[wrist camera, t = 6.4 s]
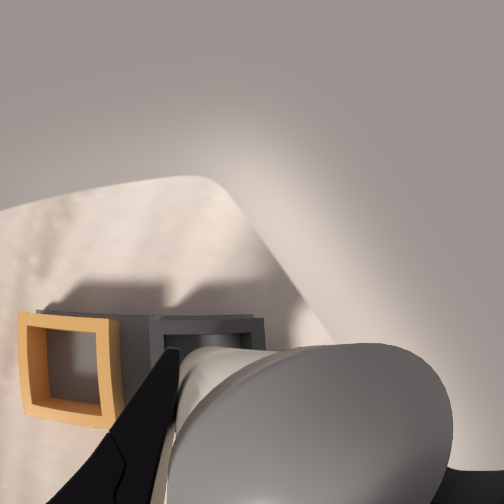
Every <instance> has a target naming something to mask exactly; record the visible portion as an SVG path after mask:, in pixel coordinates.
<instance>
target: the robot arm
mask: <svg viewBox="0 0 504 504" xmlns="http://www.w3.org/2000/svg"><path fill="white" fill-rule="evenodd" d="M180 359H181V349H179V348H173V347H167V348H166V349H165V350H164V352H163V353H162V354H161V356H160V357H159V359H158V360H157V362H156V363H155V364H154V366H153V367H152V369H151V370H150V372H149V373H148V374H147V376H146V377H145V379H144V380H143V382H142V383H141V384H140V386H139V387H138V389H137V390H136V392H135V393H134V395H133V396H132V397H131V399H130V400H129V402H128V403H127V405H126V406H125V408H124V409H123V411H122V412H121V413H120V415H119V416H118V418H117V419H116V421H115V422H114V424H113V425H112V427H111V428H110V430H109V433H107V434H106V435H105V437H104V438H103V440H102V441H101V443H100V444H99V445H98V447H97V448H96V449H95V451H94V452H93V453H92V455H91V456H90V457H89V458H88V460H87V461H86V462H85V463H84V464H83V465H82V467H81V468H80V469H79V470H78V471H77V472H76V473H75V474H74V475H73V476H72V478H71V479H70V480H69V481H68V482H67V483H66V484H65V485H64V486H63V487H62V488H61V489H60V490H59V491H58V492H57V493H56V494H55V495H54V496H53V497H52V498H51V499H50V500H49V501H48V502H47V503H46V504H164V498H165V490H166V483H167V476H168V465H169V460H170V455H171V450H172V444H173V438H174V432H175V427H176V411H177V402H178V390H179V375H180ZM430 504H504V470H502V471H501V470H500V471H459V470H455V469H451V468H449V467H447V468H446V471H445V473H444V476H443V479H442V481H441V483H440V486H439V488H438V490H437V492H436V494H435V496H434V497H433V499H432V501H431V502H430Z"/></svg>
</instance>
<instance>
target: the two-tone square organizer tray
mask: <svg viewBox="0 0 504 504" xmlns="http://www.w3.org/2000/svg"><path fill="white" fill-rule="evenodd" d="M17 340H18V364H19V376H20V386H21V394H22V401H23V408H24V414H27V415H31V416H35V417H39V418H44V419H48V420H53V421H58V422H63V423H68V424H74V425H80V426H87V427H94V428H103V429H110V428H111V427H112V425H113V424H114V422H115V421H116V419H117V418H118V416H119V415H120V413H121V412H122V411H123V409H124V408H125V406H126V405H127V403H128V402H129V400H130V399H131V397H132V396H133V395H134V393H135V392H136V390H137V389H138V387H139V386H140V384H141V383H142V382H143V380H144V379H145V377H146V376H147V374H148V373H149V372H150V370H151V369H152V367H153V366H154V364H155V363H156V362H157V360H158V359H159V357H160V356H161V354H162V353H163V352H164V350H165V349H166V348H167V347H173V348H179V349H181V359H180V365H181V363H182V361H183V360H184V358H185V357H186V356H187V355H188V354H189V353H191V352H192V351H194V350H195V349H198V348H201V347H205V346H217V347H226V348H237V349H248V350H262V351H266V347H265V333H264V319H263V318H253V314H250V315H222V316H134V315H106V314H87V313H72V312H59V311H47V310H36V313H28V312H19V311H18V322H17ZM175 432H176V427H175Z"/></svg>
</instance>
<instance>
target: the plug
mask: <svg viewBox="0 0 504 504" xmlns="http://www.w3.org/2000/svg"><path fill="white" fill-rule="evenodd" d="M452 439H453V418H452V410H451V405H450V400H449V397H448V395H447V392H446V389H445V387H444V385H443V384H442V382H441V380H440V378H439V376H438V375H437V374H436V372H435V371H434V370H433V369H432V367H431V366H430V365H428V364H427V363H426V362H425V361H424V360H423V359H422V358H420V357H418V356H417V355H415V354H413V353H412V352H410V351H407V350H405V349H402V348H399V347H396V346H392V345H386V344H381V343H357V344H341V345H319V346H307V347H298V348H294V349H289V350H284V351H281V352H278V351H262V350H248V349H237V348H226V347H217V346H205V347H201V348H198V349H195V350H194V351H192V352H191V353H189V354H188V355H187V356H186V357H185V358H184V360H183V361H182V363H181V365H180V375H179V390H178V402H177V411H176V440H175V442H174V445H173V447H172V451H171V455H170V460H169V465H168V487H167V504H430V502H431V501H432V499H433V497H434V496H435V494H436V492H437V490H438V488H439V486H440V483H441V481H442V479H443V476H444V473H445V471H446V468H447V464H448V460H449V457H450V452H451V446H452Z"/></svg>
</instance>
